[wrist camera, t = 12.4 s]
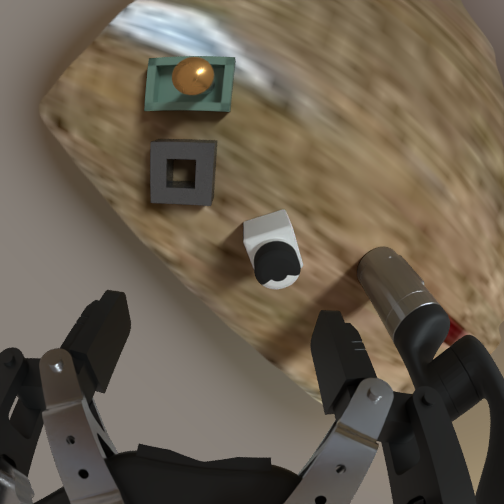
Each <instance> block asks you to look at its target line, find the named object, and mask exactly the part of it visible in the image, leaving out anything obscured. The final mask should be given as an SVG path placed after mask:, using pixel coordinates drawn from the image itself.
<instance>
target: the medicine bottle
mask: <svg viewBox="0 0 504 504" xmlns="http://www.w3.org/2000/svg"><path fill="white" fill-rule="evenodd" d="M243 243H244V245H245V248H246V250H247V253H248V255H249V258H250V261H251V263H252V266H253V268H254V272H255V276H256V279H257V280H258V282H259V283H260V284H261V285H263V286H265V287H267V288H270V289H282V288H285V287H288V286H289V285H291V284H292V283H294V282H295V281H296V279H297V278H298V276H299V274H300V270H301V268H302V267H303V262H302V259H301V255H300V252H299V248H298V244H297V241H296V237H295V234H294V230H293V227H292V225H291V222H290V220H289V217H288V215H287V213H286V211H285V210H284V209H283V210H279V211H276V212H273V213H270V214H267V215H264V216H260V217H257V218H254V219H251V220H248V221H245V222H243Z"/></svg>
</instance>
